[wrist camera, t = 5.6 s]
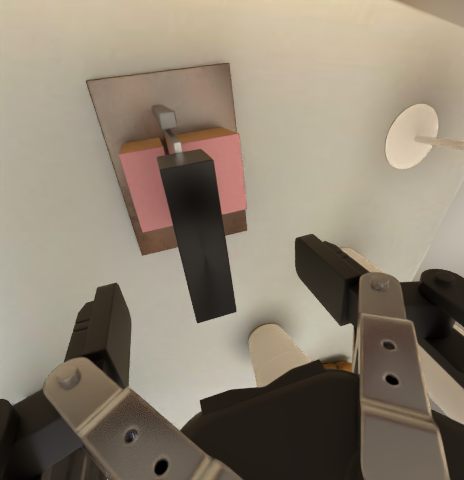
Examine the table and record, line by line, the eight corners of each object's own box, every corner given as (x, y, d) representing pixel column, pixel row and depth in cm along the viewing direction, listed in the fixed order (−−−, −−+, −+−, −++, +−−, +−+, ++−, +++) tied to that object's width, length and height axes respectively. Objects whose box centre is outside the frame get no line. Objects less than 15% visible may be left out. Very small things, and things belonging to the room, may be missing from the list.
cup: (231, 361, 48) (253, 426, 38) (242, 314, 44) (270, 374, 34) (284, 356, 51) (316, 415, 41) (299, 311, 47) (338, 366, 37)
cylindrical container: (332, 242, 42) (527, 394, 21) (365, 253, 45) (568, 396, 24) (309, 282, 45) (465, 455, 23) (342, 289, 47) (508, 450, 26)
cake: (142, 209, 31) (142, 232, 26) (122, 143, 28) (118, 154, 22) (230, 191, 33) (247, 209, 28) (222, 126, 29) (239, 133, 24)
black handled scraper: (178, 245, 26) (198, 330, 17) (149, 129, 21) (156, 157, 12) (203, 238, 27) (237, 318, 17) (181, 124, 22) (212, 147, 12)
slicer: (142, 249, 35) (142, 324, 23) (88, 81, 26) (48, 71, 15) (243, 225, 37) (287, 282, 26) (225, 64, 28) (280, 44, 17)
